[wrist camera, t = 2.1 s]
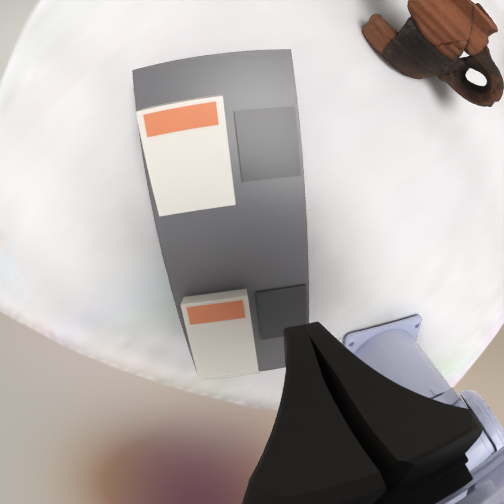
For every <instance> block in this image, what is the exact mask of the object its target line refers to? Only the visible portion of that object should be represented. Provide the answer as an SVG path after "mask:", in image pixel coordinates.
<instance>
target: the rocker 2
mask: <svg viewBox="0 0 504 504" xmlns="http://www.w3.org/2000/svg"><path fill="white" fill-rule="evenodd" d="M181 309H182V313H183V318H184V322H185V327H186V331H187V335H188V339H189V343H190V347H191V351H192V355H193V359H194V363H195V367H196V370H197V374H198V378H199V380H206V379H216V378H225V377H233V376H241V375H248V374H255V373H259V370H258V363H257V356H256V350H255V343H254V336H253V329H252V322H251V315H250V308H249V301H248V294H247V289H240V290H233V291H225V292H218V293H210V294H203V295H195V296H187V297H183V300H182V302H181Z"/></svg>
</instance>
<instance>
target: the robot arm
mask: <svg viewBox="0 0 504 504" xmlns="http://www.w3.org/2000/svg"><path fill="white" fill-rule="evenodd" d="M421 322H422V317H421V316H420V315H417V316H413V317H410V318H407V319H403V320H400V321H396V322H393V323H389V324H385V325H382V326H378V327H374V328H370V329H366V330H362V331H358V332H354V333H350V334H348V335H347V336H346V338H345V345H343V344H342V343H340V342H339V341H338V340H337V339H336V338H335V337H334V336H333V335H332V334H331V333H330V332H329V331H328V330H327V329H326V328H325V327H324V326H322V325H321V324H320V323H319V322H314V323H309V324H303V325H298V326H292V327H286V328H285V329H284V330H283V333H284V351H285V365H286V374H285V381H284V388H283V393H282V398H281V402H280V406H279V410H278V413H277V417H276V420H275V423H274V426H273V429H272V432H271V435H270V437H269V440H268V442H267V444H266V447H265V449H264V452H263V454H262V456H261V458H260V460H259V462H258V465H257V466H256V468H255V470H254V472H253V474H252V476H251V477H250V479H249V483H248V487H247V490H246V493H245V496H244V499H243V503H242V504H504V430H503V428H502V427H501V425H500V423H499V421H498V420H497V418H496V417H495V415H494V414H493V412H492V411H491V409H490V408H489V407H488V405H487V404H486V403H485V401H484V400H483V399H482V398H481V396H480V395H479V394H478V393H477V392H476V391H475V390H469V391H468V390H464V391H463V392H462V393H461V394H460V395H461V397H462V398H463V400H464V401H465V403H466V405H467V406H466V405H465V403H464V402H463V401H462V399H461V398H460V397H459V395H458V394H457V392H456V391H455V390H454V388H453V387H452V388H451V387H450V386H449V384H448V383H447V381H446V380H445V379H444V377H443V376H442V375H441V373H440V372H439V371H438V369H437V368H436V367H435V365H434V364H433V363H432V362H431V360H430V359H429V358H428V356H427V355H426V354H425V352H424V351H423V350H422V349H421V347H420V346H419V345H418V344H417V342H416V340H417V336H418V333H419V329H420V326H421ZM351 342H352V343H351ZM349 343H350V344H349ZM467 407H468V408H469V409H468V408H467Z"/></svg>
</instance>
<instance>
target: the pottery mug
mask: <svg viewBox="0 0 504 504" xmlns="http://www.w3.org/2000/svg"><path fill="white" fill-rule="evenodd" d="M407 6H408V10H409V13H410V14H411V17H410V18H408V20H407V22H406V23H405V25H404V26H403V28H402V29H401V31H399V32H397V31H396V30H394V29H393V28H392V27H391V26H390V25H389V24H388V23H387V22H386V21H385V20H384V19H383V18H382V17H381V16H380V15H379V14H374V15H372V16H371V18H370V19H369V22H368V23H367V24H366V25H365V27H364V28H363V30H362V33H363V34H364V35H365V37H366V39H367V40H368V41H369V42H370V43H371V45H372V46H373V47H374V48H375V49H376V50H377V51H378V52H379V53H381V54H382V56H383V57H384V58H385V59H387V60H388V61H389V62H390V63H391V64H392V65H393V66H394V67H396V68H397V69H399V70H400V71H401V72H402V73H404V74H406V75H408V76H411V77H413V78H416V79H422V78H427V77H435V76H437V77H439V79H440V80H442V81H444V82H446V83H447V84H448V85H450V86H451V87H452V88H453V89H454V90H455V91H456V92H457V93H458V94H459V95H461V96H462V97H463V98H464V99H466V100H468V101H469V102H471V103H473V104H476V105H478V106H484V107H486V106H488V107H492V105H493V104H494V102H497V101H499V100H500V99H501V97H502V94H503V89H504V83H503V79H502V76H501V73H500V71H499V69H498V68H497V66H496V65H495V63H494V62H493V60H492V58H491V55H490V52H489V48H488V47H487V44H488V43H489V41H488V37H489V36H490V35H491V34H493V33H495V32H498V29H497V26H496V25H495V23H494V22H493V20H492V19H491V17H490V16H489V15H488V14H487V12H486V11H485V10H484V9H483V7H482V6H481V5H480V4H479V3H476V4H475V3H473V2H472V1H471V0H409V1H408V5H407ZM463 51H465V52H466V53H467V54H468V55H470V56H468V57H462V58H459V57H460V56H461V55H462V53H463ZM469 68H472V69H474V70H476V71H478V72H480V73H482V74H483V75H484V76H485V77H486V79H487V84H486V85H485V86H478V85H475V84H473V83H471V82H470V81H468V80H467V78H466V76H465V75H466V72H467V71H468V69H469Z"/></svg>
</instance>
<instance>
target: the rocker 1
mask: <svg viewBox="0 0 504 504" xmlns="http://www.w3.org/2000/svg"><path fill="white" fill-rule="evenodd" d="M136 115H137V120H138V126H139V131H140V136H141V141H142V145H143V150H144V155H145V159H146V164H147V168H148V173H149V177H150V181H151V185H152V189H153V194H154V198H155V201H156V205H157V209H158V213H159V217H160V216H166V215H172V214H178V213H184V212H190V211H197V210H203V209H210V208H217V207H224V206H231V205H236V203H235V195H234V187H233V178H232V170H231V162H230V153H229V145H228V136H227V128H226V119H225V110H224V102H223V95H222V94H219V95H211V96H204V97H198V98H192V99H186V100H180V101H175V102H170V103H165V104H160V105H155V106H151V107H147V108H142V109H141V110H139V111H137V112H136Z"/></svg>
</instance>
